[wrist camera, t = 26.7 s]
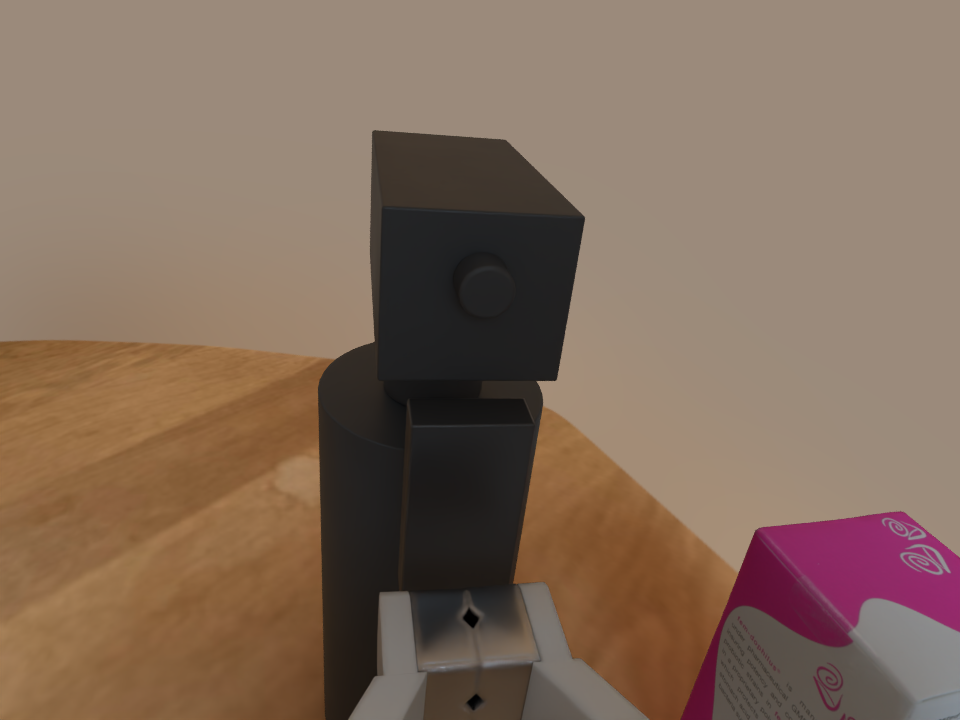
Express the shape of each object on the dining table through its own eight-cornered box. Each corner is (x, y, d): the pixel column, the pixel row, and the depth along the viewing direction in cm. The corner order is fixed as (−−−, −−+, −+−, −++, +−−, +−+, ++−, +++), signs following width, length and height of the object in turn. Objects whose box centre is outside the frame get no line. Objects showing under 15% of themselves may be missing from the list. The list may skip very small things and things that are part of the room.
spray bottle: (524, 862, 21) (678, 234, 11) (316, 891, 20) (290, 216, 10) (477, 623, 29) (545, 135, 19) (327, 634, 28) (319, 118, 18)
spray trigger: (507, 602, 15) (536, 424, 13) (400, 608, 14) (410, 425, 12) (498, 568, 16) (525, 396, 13) (397, 574, 15) (406, 397, 13)
